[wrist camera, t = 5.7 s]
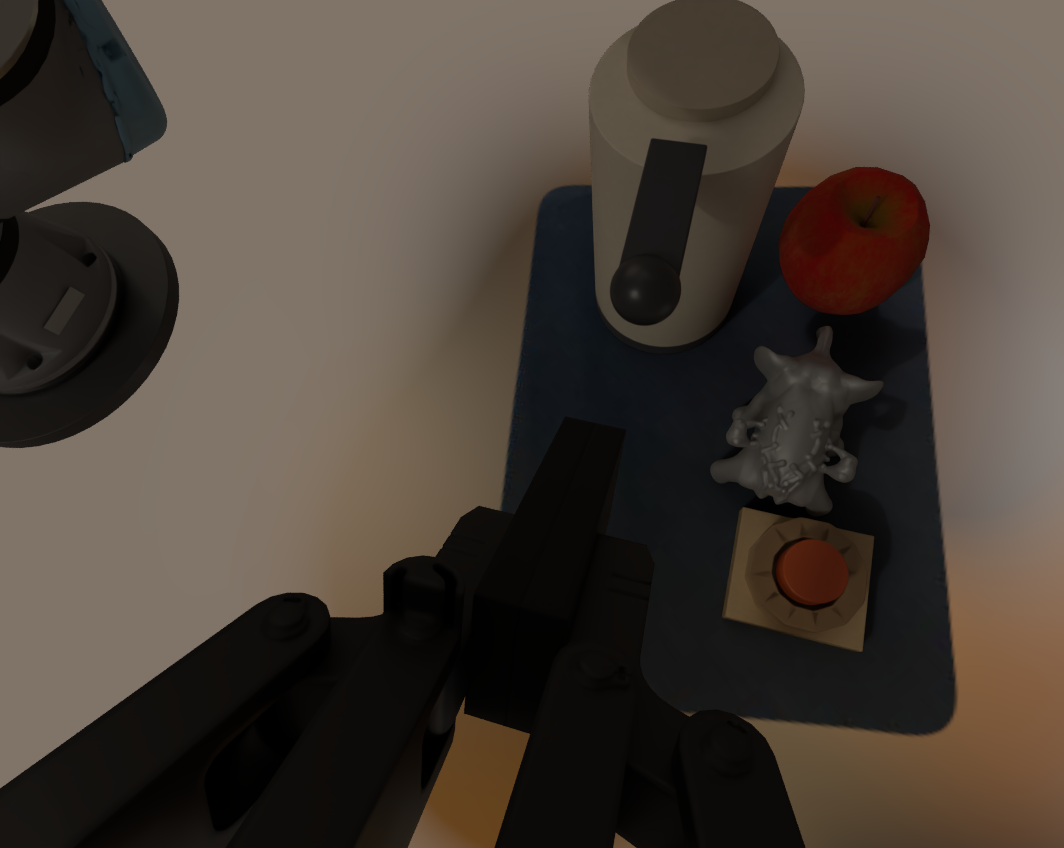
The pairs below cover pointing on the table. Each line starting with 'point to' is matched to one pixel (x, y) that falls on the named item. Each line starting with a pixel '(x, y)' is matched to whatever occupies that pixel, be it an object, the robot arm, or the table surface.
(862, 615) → the button base
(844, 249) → the apple
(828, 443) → the grey toy figure
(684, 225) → the switch
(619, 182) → the beige cylinder
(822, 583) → the button
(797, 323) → the table surface
